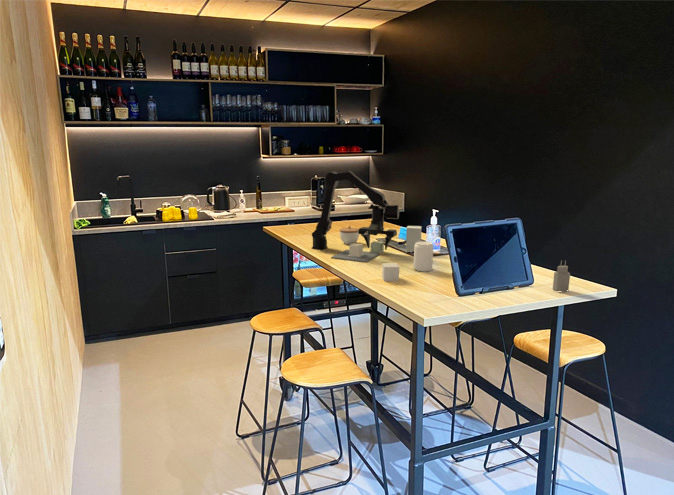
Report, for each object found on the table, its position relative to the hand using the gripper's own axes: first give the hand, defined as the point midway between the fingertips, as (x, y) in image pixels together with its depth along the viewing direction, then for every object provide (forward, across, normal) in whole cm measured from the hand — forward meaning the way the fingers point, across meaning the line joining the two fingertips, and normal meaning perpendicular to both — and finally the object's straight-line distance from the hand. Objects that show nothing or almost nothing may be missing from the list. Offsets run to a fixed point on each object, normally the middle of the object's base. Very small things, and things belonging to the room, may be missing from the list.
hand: (377, 248), depth 253 cm
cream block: (+1, -6, -13) cm, 14 cm away
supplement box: (+2, +16, +9) cm, 19 cm away
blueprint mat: (+2, -6, -13) cm, 14 cm away
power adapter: (+2, +86, -30) cm, 91 cm away
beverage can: (+2, +30, -23) cm, 38 cm away
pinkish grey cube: (+2, +22, -43) cm, 48 cm away
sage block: (+2, 0, 0) cm, 2 cm away
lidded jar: (+2, -21, +13) cm, 25 cm away
